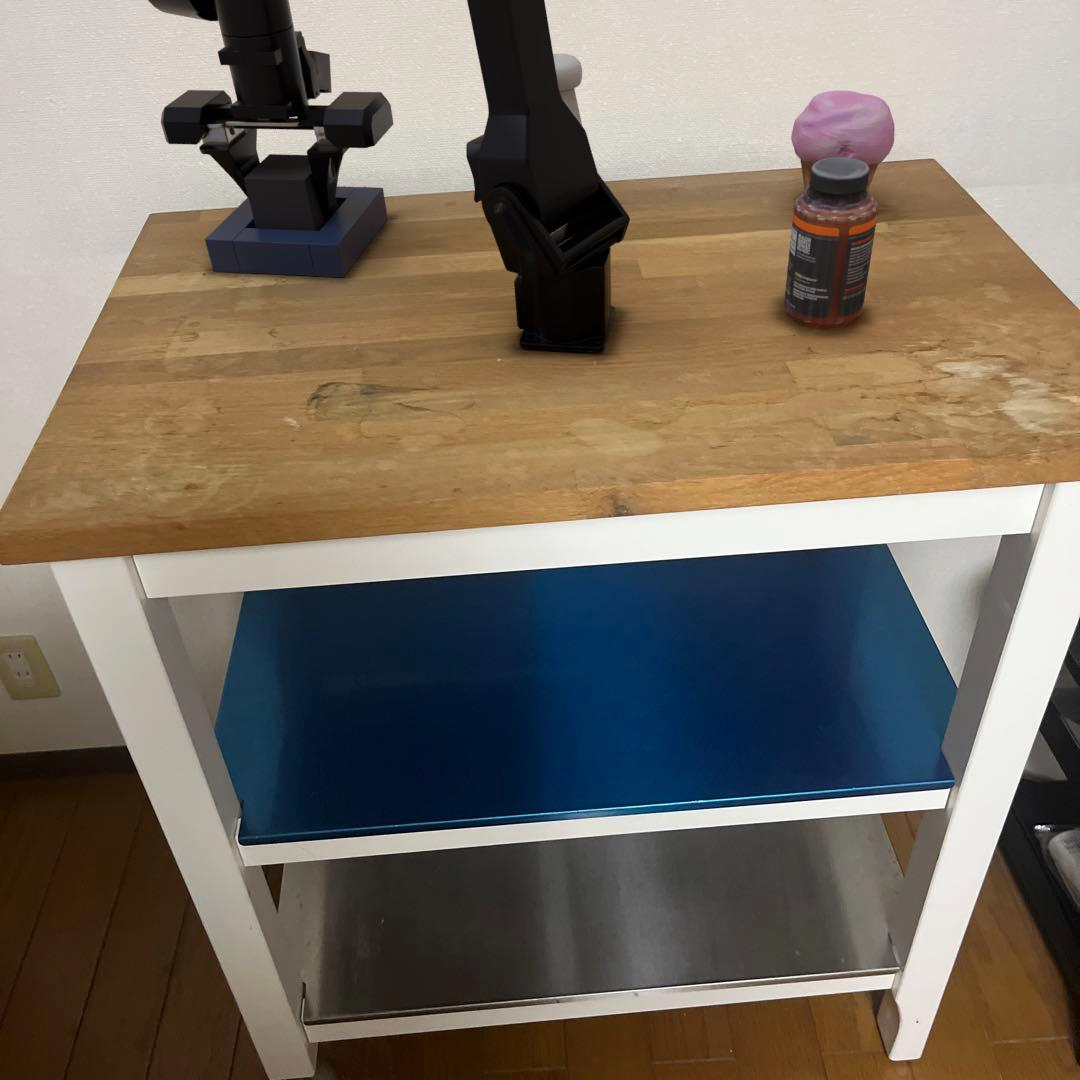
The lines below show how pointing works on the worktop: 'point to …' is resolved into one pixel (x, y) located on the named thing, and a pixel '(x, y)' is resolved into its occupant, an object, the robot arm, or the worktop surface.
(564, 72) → the salt shaker
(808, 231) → the supplement bottle
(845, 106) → the cupcake
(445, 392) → the worktop surface
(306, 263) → the base
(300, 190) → the black cube
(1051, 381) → the worktop surface
